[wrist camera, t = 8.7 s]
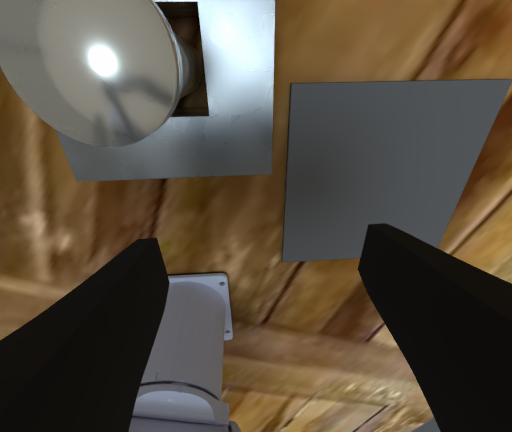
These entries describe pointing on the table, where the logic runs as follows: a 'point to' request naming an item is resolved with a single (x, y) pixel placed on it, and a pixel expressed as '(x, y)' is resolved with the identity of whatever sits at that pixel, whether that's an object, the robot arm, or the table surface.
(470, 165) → the mat
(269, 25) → the square hole block
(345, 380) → the table surface
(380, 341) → the table surface
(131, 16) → the pin
